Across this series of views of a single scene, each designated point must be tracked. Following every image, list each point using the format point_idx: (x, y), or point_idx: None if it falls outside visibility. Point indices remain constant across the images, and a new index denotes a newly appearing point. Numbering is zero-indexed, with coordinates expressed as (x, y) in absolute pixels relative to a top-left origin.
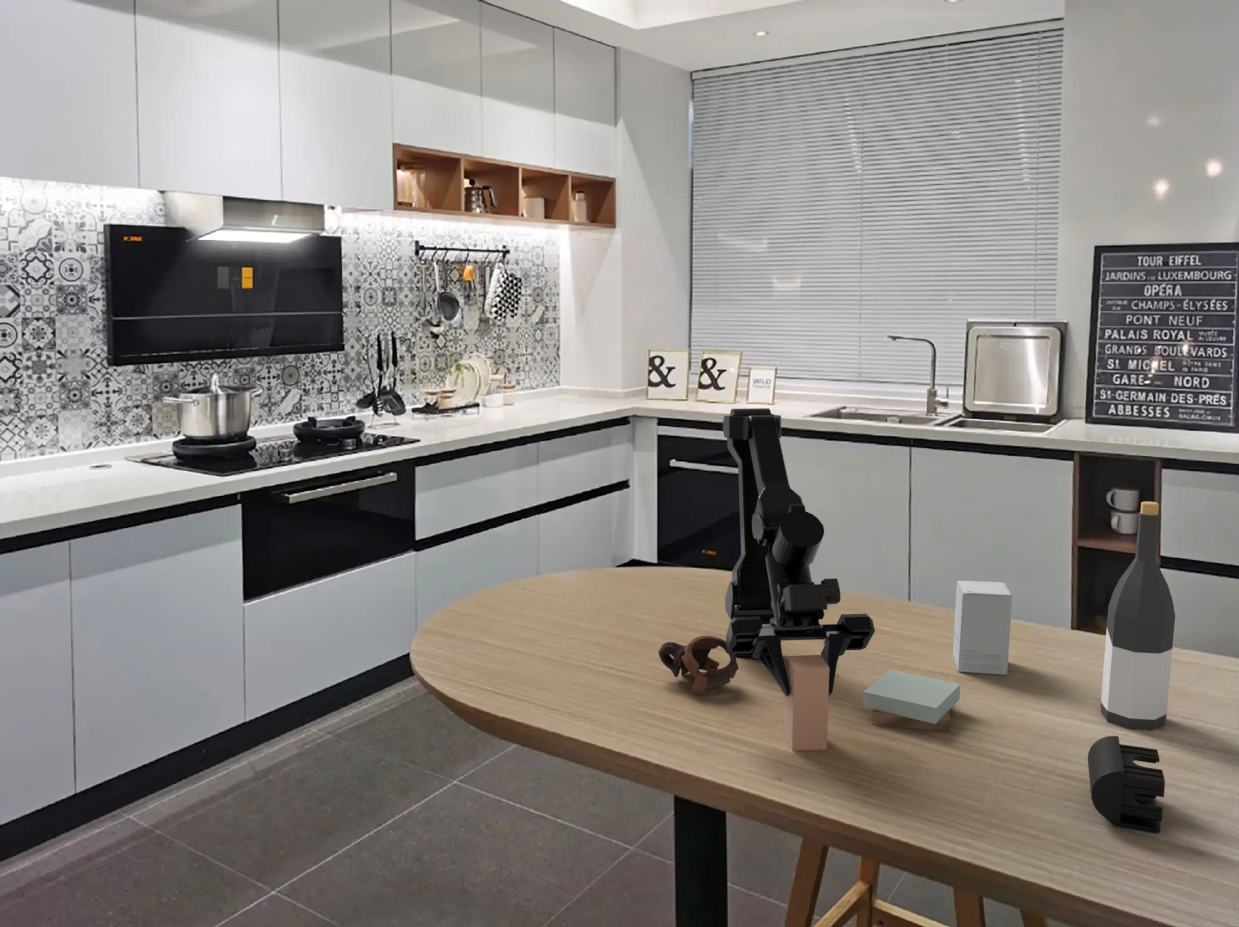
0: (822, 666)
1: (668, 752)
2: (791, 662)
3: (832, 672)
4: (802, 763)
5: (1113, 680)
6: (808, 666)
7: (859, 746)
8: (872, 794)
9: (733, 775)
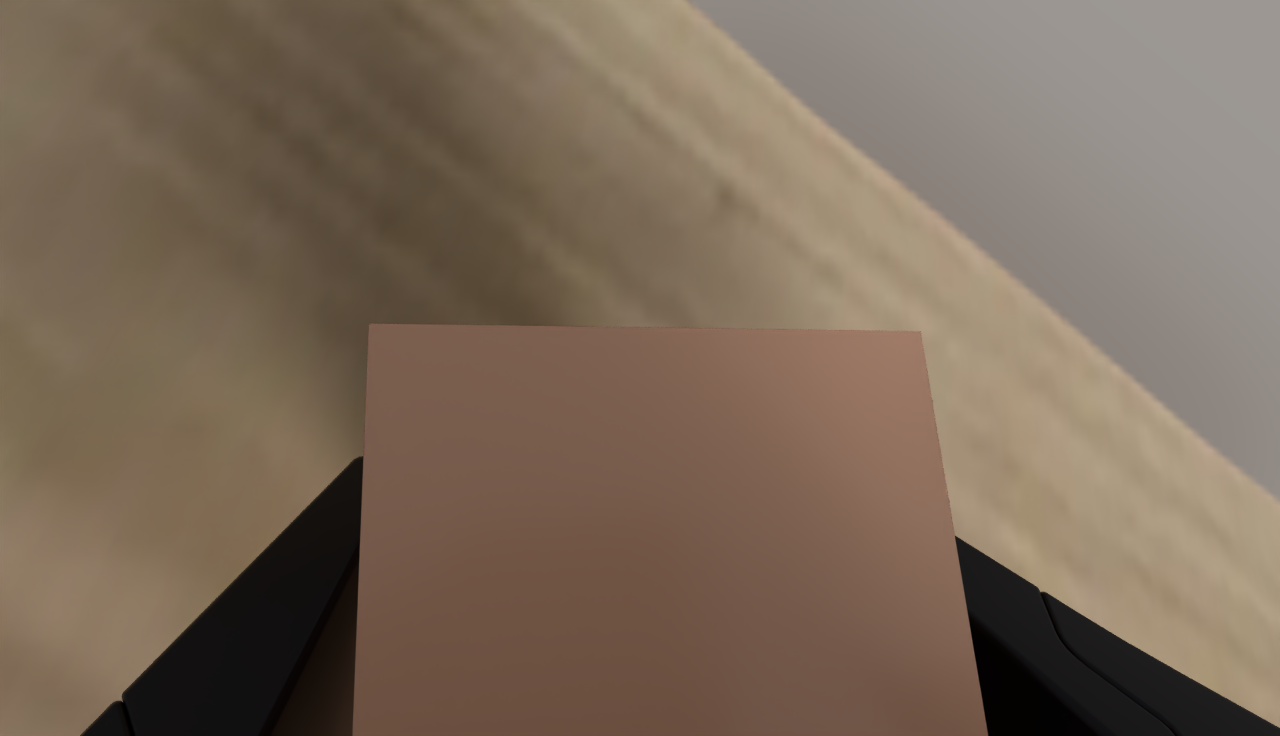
0: (486, 369)
1: (1110, 459)
2: (943, 585)
3: (262, 597)
4: (608, 318)
5: None
6: (718, 384)
7: (239, 493)
8: (373, 18)
9: (886, 248)
